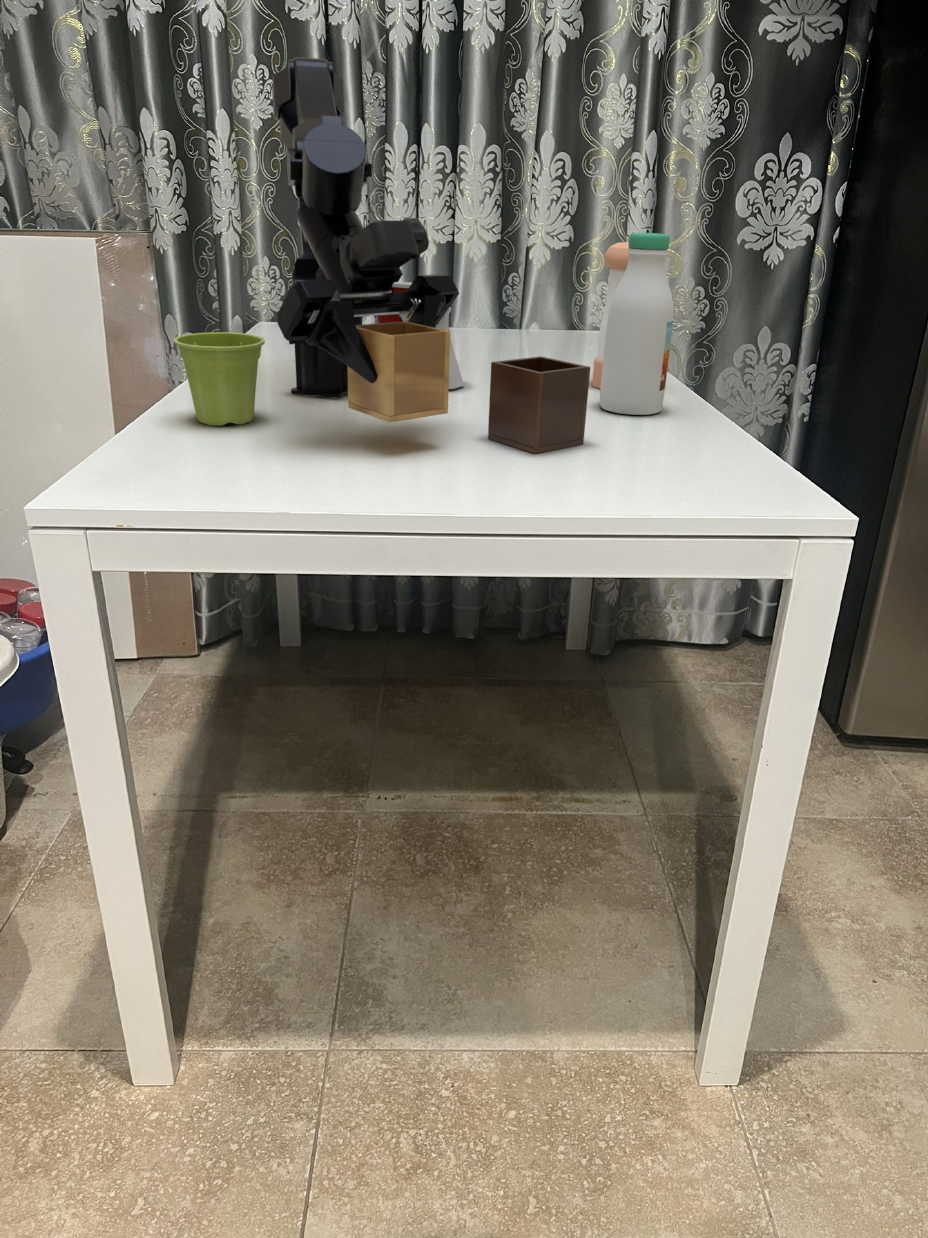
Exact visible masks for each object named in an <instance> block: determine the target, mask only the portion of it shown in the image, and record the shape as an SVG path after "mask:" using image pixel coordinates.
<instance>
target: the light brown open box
mask: <svg viewBox="0 0 928 1238" xmlns="http://www.w3.org/2000/svg"><path fill="white" fill-rule="evenodd" d="M355 326H356V328H357V330H358V332H359V334H360V336H361V338H362V340H363V342H364V344H365V347H366V349H367V351H368V353H369V355H370V357H371V359H372V361H373V364H374V367H375V370H376V372H377V375H378V377H377V379H376V381H375V382H374V383H370V382H368V381H367V380H366V379H364V378H363V377H362V376H360V375H359V374H358V373H356V372H355V371H354V370H352V369H351V368H350V367H348V393H347V401H348V404H347V406H348V407H347V408H348V409H351V410H354V411H356V412H359V413H362V414H365V415H368V416H371V417H373V418H376V419H378V420H382V421H385V422H387V423H395V422H396V423H397V422H402V421H407V420H409V421H410V420H415V419H421V418H427V417H434V416H439V415H447V414H449V390H450V389H449V354H450V337H451V330H450V331H448V330H443V329H439V328H434V327H430V326H425V325H421V324H416V323H411V322H407V321H403V322H390V323H378V322H377V323H365V324H362V325H355Z"/></svg>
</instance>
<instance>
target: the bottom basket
mask: <svg viewBox="0 0 928 1238" xmlns="http://www.w3.org/2000/svg"><path fill="white" fill-rule="evenodd" d="M590 375H591V366H588V365H584V364H579V363H573V362H569V361H565V360H561V359H556V358H551V357H547V356H543V355H539V356H533V357H530V356H529V357H523V358H522V357H521V358H514V359H513V358H512V359H504V360H495V361H491V363H490V380H489V381H490V382H489V403H488V405H489V407H488V425H487V440H490V441H494V442H497V443H499V444H503V445H506V446H508V447H512V448H514V449H518V450H521V451H524V452H527V453H531V454H533V455H536V454H540V453H546V452H551V451H557V450H561V449H565V448H571V447H576V446H581V445H584V441H585V439H584V438H585V433H586V432H585V430H586V419H587V408H588V397H589V387H590V385H589V384H590Z"/></svg>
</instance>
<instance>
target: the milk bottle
mask: <svg viewBox="0 0 928 1238" xmlns="http://www.w3.org/2000/svg"><path fill="white" fill-rule="evenodd" d="M628 237H629V244H628V246H629V250H628V253H629V262H628V265H627V268H626V271H625V273H624V276H623V278H622V280H621V282H620V283H619V285H618V287H617V289H616V291H615V293H614V295H613V298H612V301H611V304H610V309H609V315H608V322H607V330H606V339H605V349H604V359H603V369H602V379H601V389H600V388H599V389H600V391H599V405H600V408H601V409H603V410H604V411H608V412H611V413H616V414H623V415H633V416H634V415H636V416H639V415H640V416H644V415H653V414H658V413H659V412H661V410H662V409H663V405H664V397H665V390H666V383H667V375H668V368H669V361H670V360H669V359H670V352H671V351H670V350H671V344H672V334H673V324H674V299H673V295H672V291H671V287H670V284H669V281H668V280H669V279H668V275H667V270H666V257H667V256H668V255H669V248H670V243H671V236H670V235H669V234H666V233H655V232H631V233H630V234H629V236H628Z"/></svg>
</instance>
